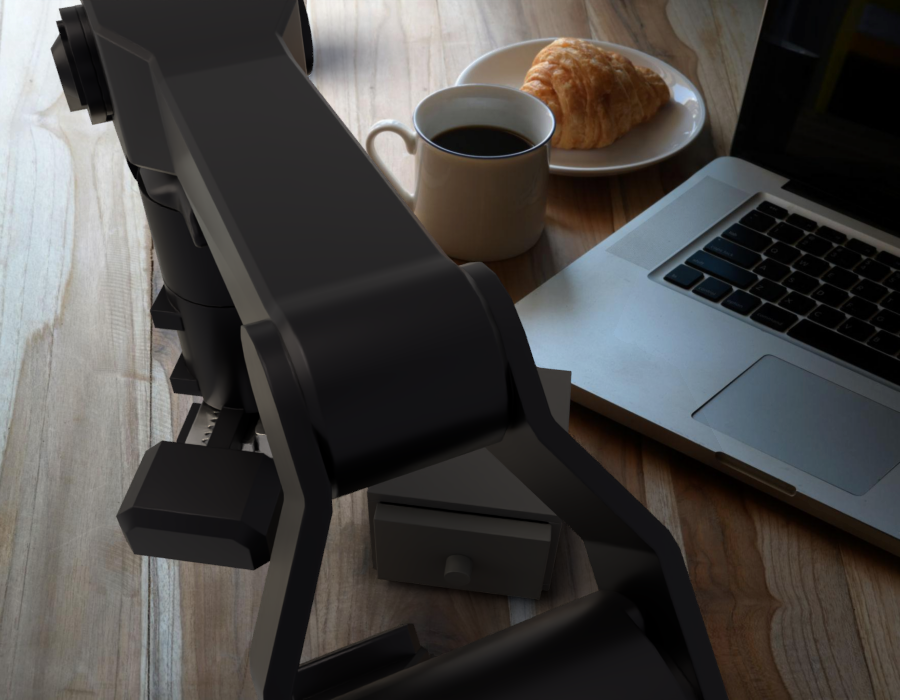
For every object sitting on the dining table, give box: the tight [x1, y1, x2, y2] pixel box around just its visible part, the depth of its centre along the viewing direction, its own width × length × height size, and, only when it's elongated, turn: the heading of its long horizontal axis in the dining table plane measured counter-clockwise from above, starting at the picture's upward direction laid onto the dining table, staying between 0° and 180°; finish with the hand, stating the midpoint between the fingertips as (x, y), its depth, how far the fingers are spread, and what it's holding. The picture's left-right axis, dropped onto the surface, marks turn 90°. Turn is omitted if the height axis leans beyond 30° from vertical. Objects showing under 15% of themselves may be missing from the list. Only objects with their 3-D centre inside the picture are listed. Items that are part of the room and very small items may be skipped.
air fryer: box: [366, 366, 572, 592], centre depth 61 cm, size 12×12×9 cm
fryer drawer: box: [374, 503, 552, 601], centre depth 60 cm, size 12×10×7 cm
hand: (274, 483), depth 50 cm, fingers closed
